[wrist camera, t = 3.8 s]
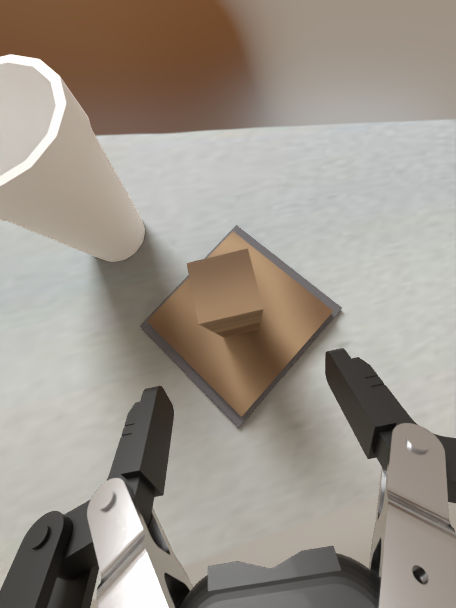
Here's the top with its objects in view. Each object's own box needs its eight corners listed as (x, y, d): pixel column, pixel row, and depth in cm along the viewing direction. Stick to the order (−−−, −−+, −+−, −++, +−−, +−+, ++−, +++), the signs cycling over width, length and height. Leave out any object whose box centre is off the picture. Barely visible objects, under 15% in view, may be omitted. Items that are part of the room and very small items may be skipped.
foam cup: (171, 208, 26) (93, 68, 13) (139, 286, 24) (15, 212, 12) (98, 189, 27) (-37, 46, 15) (63, 261, 26) (-121, 172, 13)
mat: (238, 426, 20) (238, 427, 20) (141, 326, 23) (139, 326, 23) (340, 308, 22) (342, 308, 21) (236, 227, 24) (236, 225, 24)
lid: (241, 414, 20) (230, 480, 10) (150, 322, 23) (63, 296, 12) (330, 312, 21) (407, 273, 11) (233, 235, 24) (218, 141, 13)
